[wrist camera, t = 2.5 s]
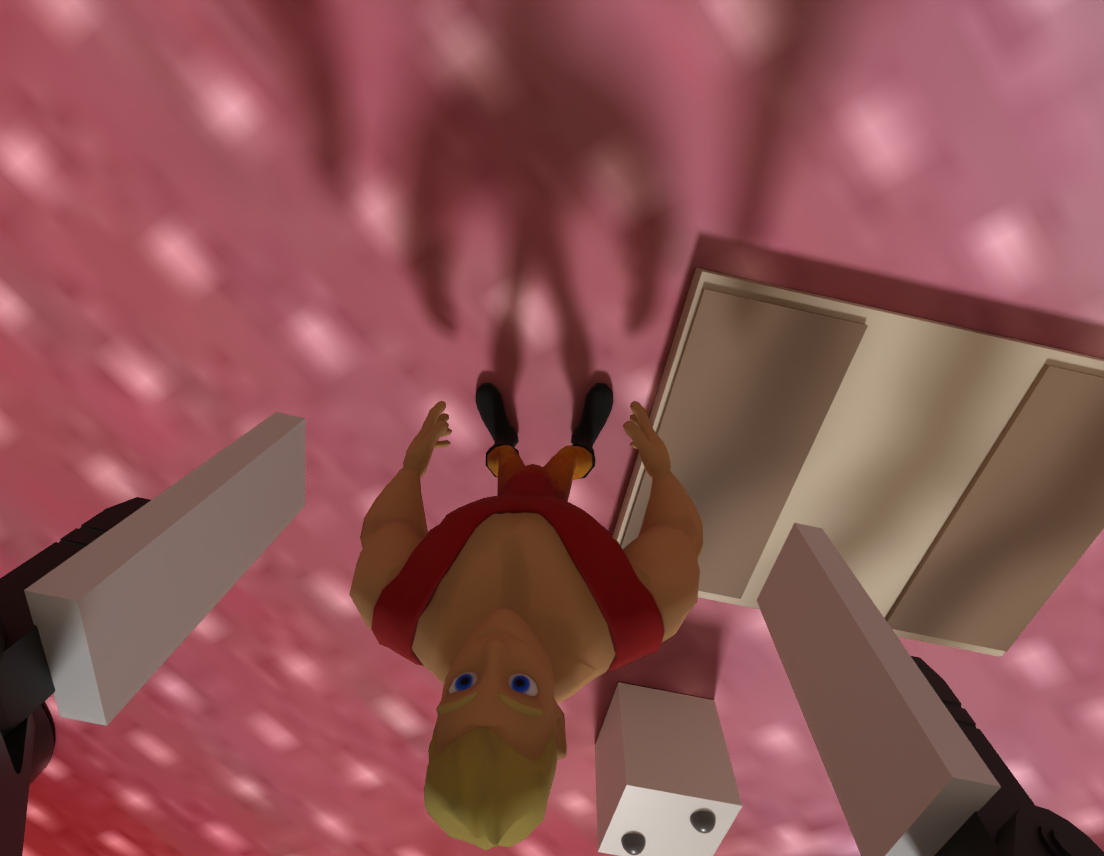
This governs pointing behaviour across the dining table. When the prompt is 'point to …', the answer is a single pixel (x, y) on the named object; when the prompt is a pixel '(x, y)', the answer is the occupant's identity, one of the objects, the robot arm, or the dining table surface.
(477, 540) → the action figure
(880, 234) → the dining table surface
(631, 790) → the die
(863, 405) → the board
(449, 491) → the dining table surface
